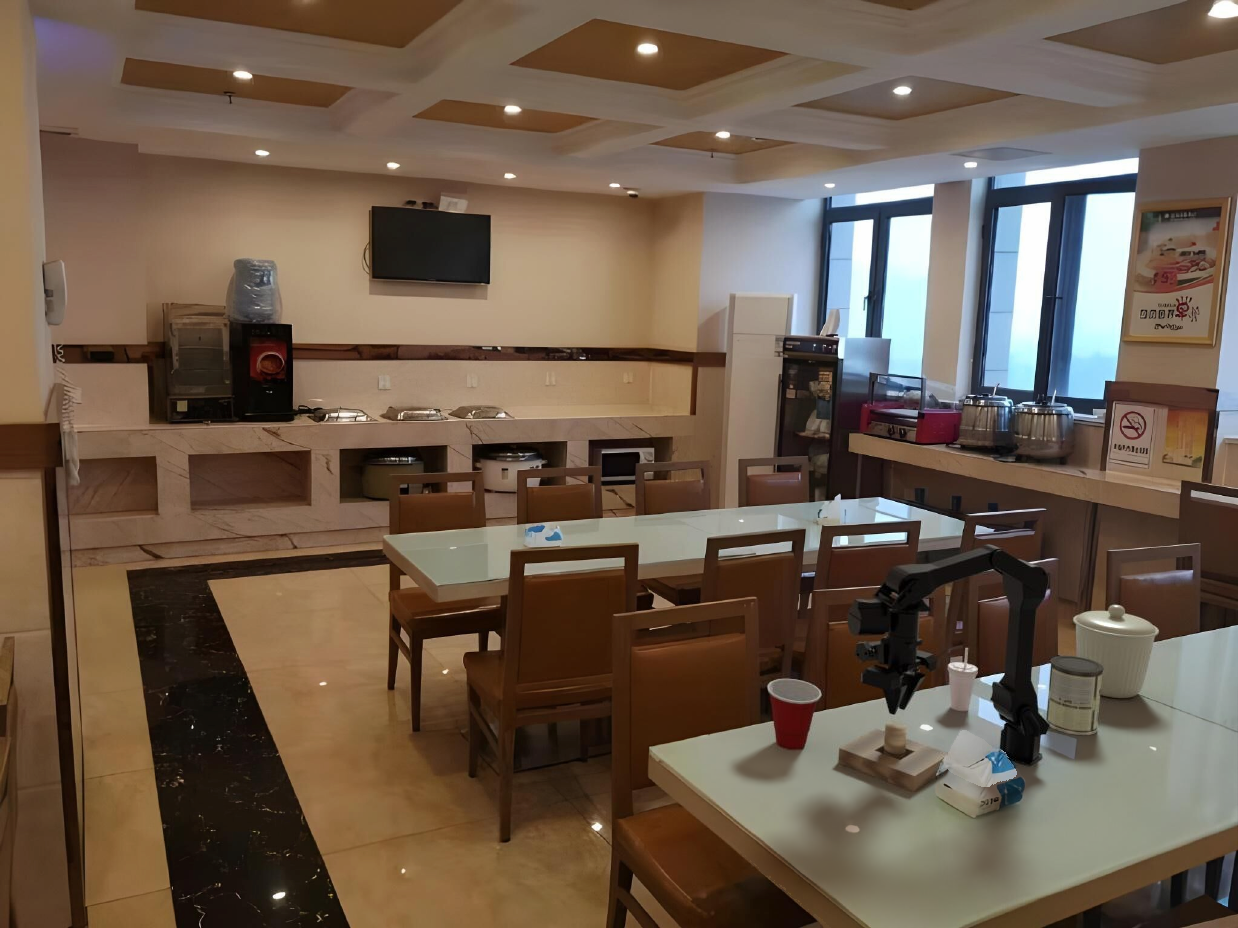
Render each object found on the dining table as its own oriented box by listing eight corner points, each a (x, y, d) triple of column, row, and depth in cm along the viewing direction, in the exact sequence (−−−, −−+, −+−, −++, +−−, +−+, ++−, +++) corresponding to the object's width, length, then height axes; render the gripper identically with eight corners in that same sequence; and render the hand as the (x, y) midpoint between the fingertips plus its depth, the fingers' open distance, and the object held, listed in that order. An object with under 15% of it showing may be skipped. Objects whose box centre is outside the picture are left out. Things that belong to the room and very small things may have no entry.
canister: (1073, 698, 224) (1081, 611, 221) (1062, 673, 241) (1069, 591, 238) (1160, 709, 219) (1169, 619, 216) (1142, 682, 236) (1150, 599, 233)
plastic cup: (787, 760, 188) (790, 701, 186) (753, 739, 197) (756, 683, 195) (830, 749, 193) (833, 692, 191) (795, 729, 202) (797, 675, 201)
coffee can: (1038, 715, 214) (1043, 654, 212) (1086, 717, 213) (1092, 656, 211) (1054, 733, 204) (1060, 670, 202) (1105, 737, 203) (1111, 673, 201)
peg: (908, 765, 187) (911, 726, 186) (897, 772, 184) (900, 732, 183) (889, 758, 190) (891, 719, 189) (878, 764, 187) (880, 725, 186)
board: (949, 768, 186) (950, 753, 185) (913, 791, 176) (914, 775, 176) (875, 742, 197) (876, 728, 197) (838, 762, 187) (839, 747, 187)
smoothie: (978, 713, 213) (983, 653, 211) (949, 713, 214) (954, 652, 212) (969, 702, 220) (973, 643, 218) (940, 702, 220) (945, 643, 218)
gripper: (889, 614, 195) (884, 688, 197) (838, 633, 182) (834, 711, 184) (940, 627, 187) (935, 703, 189) (891, 647, 174) (886, 729, 176)
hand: (897, 711), depth 185 cm, fingers open, 3 cm apart
